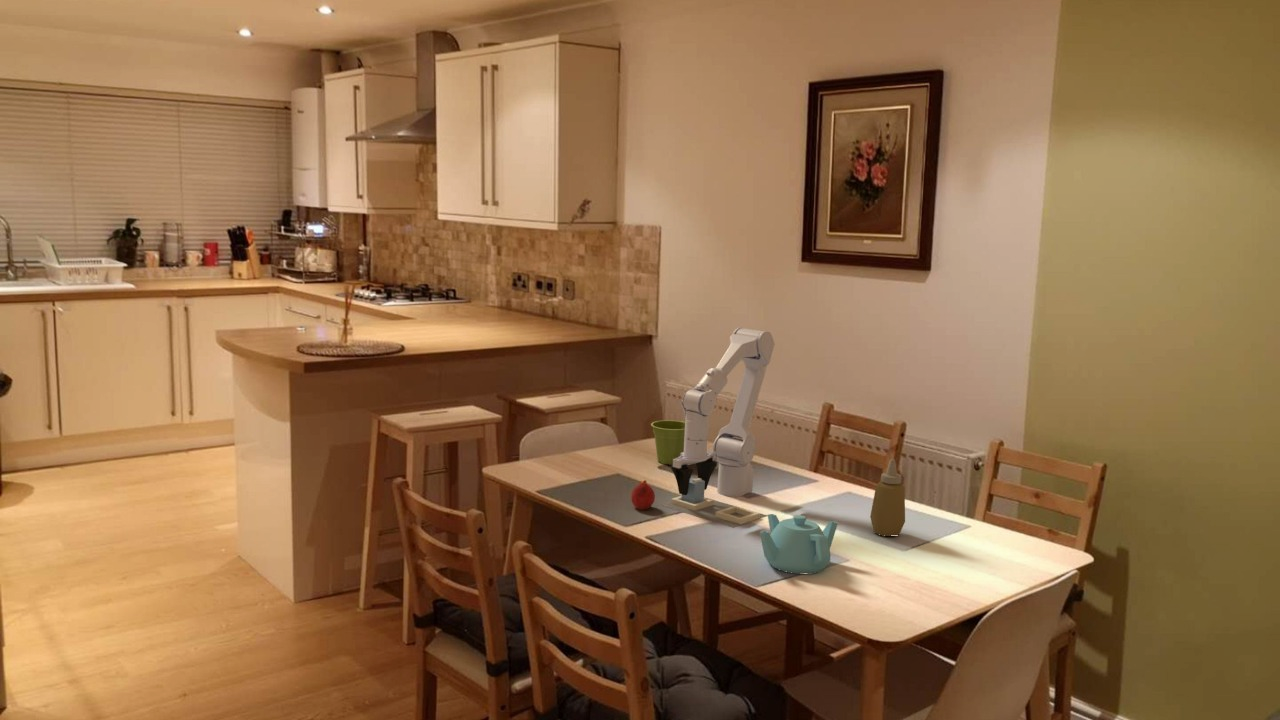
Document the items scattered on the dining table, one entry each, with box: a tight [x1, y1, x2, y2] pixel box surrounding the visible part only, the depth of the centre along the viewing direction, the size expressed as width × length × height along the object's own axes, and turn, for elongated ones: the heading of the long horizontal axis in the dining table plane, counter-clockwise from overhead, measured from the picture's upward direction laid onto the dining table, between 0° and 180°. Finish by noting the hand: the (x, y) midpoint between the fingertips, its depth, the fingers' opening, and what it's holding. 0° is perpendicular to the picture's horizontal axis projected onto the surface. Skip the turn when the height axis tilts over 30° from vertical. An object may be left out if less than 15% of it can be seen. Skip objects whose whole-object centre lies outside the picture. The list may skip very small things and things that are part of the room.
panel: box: [662, 495, 768, 529], centre depth 248 cm, size 14×22×2 cm, turn 48°
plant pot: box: [650, 419, 685, 466], centre depth 296 cm, size 12×12×11 cm
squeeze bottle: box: [870, 458, 906, 537], centre depth 238 cm, size 8×8×18 cm
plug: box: [680, 477, 705, 504], centre depth 252 cm, size 4×4×7 cm
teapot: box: [759, 513, 839, 574], centre depth 215 cm, size 15×15×11 cm
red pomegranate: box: [630, 479, 656, 511], centre depth 248 cm, size 6×6×8 cm
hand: (692, 491), depth 252 cm, fingers open, 7 cm apart
